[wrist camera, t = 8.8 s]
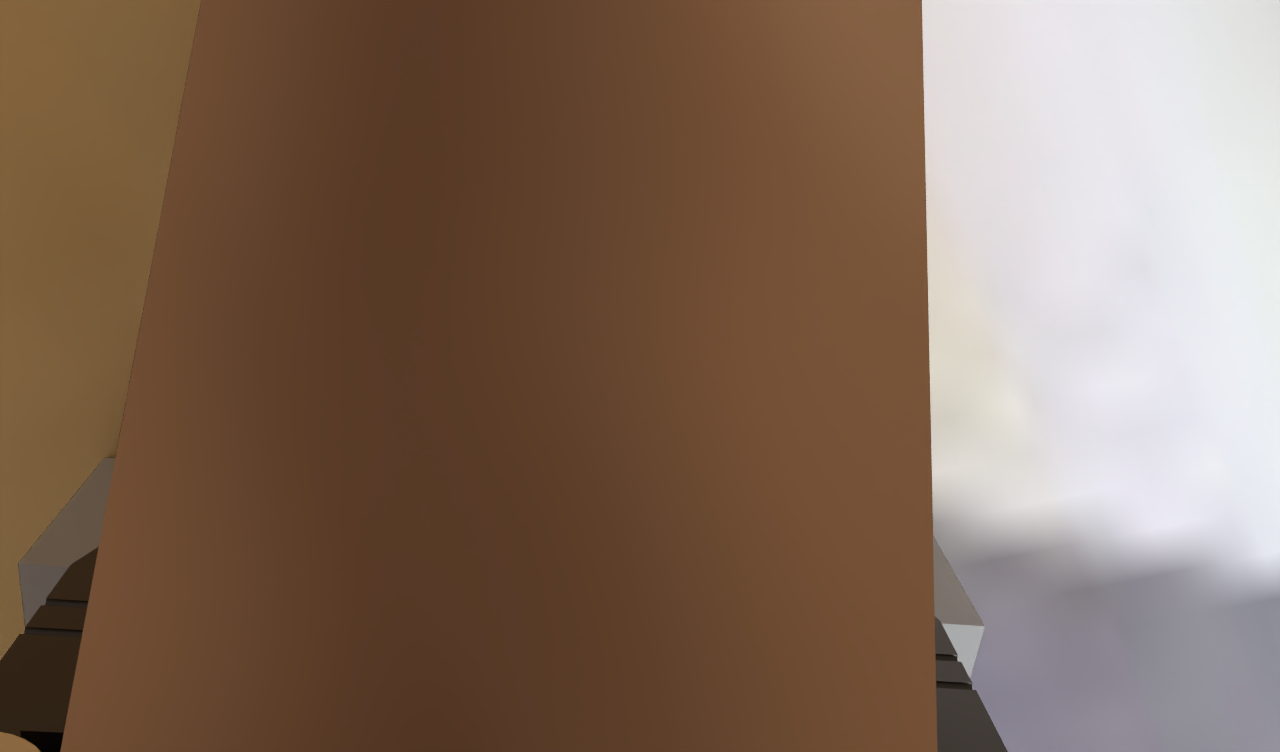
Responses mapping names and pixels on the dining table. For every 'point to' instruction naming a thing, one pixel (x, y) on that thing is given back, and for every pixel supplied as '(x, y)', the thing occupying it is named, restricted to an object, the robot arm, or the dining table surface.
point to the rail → (529, 388)
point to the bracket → (86, 510)
